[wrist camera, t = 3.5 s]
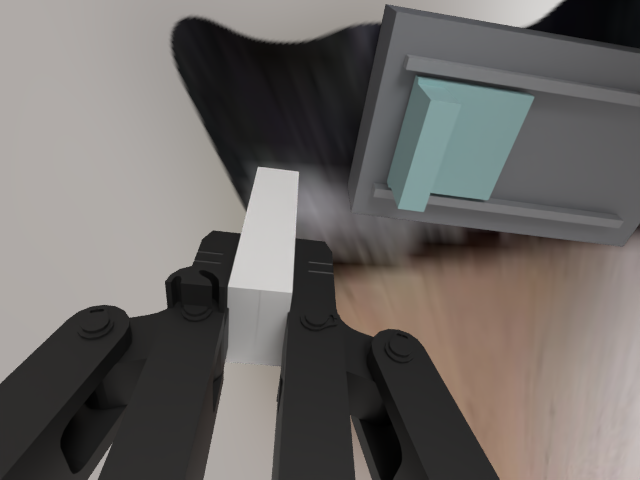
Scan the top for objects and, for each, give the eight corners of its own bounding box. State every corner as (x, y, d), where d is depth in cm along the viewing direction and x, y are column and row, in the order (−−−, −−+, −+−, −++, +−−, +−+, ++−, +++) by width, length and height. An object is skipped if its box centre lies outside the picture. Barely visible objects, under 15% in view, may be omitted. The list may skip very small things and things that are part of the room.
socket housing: (385, 4, 23) (399, 13, 19) (693, 58, 25) (763, 76, 21) (347, 185, 30) (352, 219, 26) (591, 217, 32) (629, 253, 28)
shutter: (415, 74, 22) (432, 94, 18) (528, 92, 22) (562, 114, 19) (386, 181, 25) (396, 212, 22) (483, 194, 26) (506, 226, 23)
